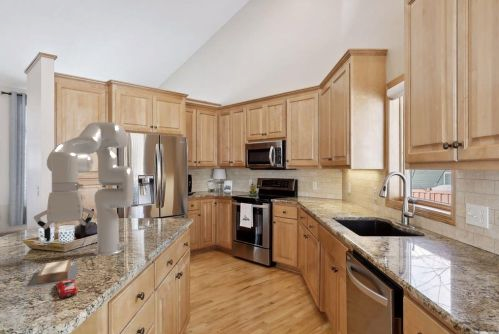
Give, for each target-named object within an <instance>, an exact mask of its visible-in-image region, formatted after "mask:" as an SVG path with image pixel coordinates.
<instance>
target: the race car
mask: <svg viewBox="0 0 499 334" xmlns="http://www.w3.org/2000/svg"><path fill="white" fill-rule="evenodd" d="M75 281H76V279H75V280H72V279H69V280H63V281H60V282H58V283H56V284H55V287H56V289H57V293H58V295H59V296H58V297H59V299H64V298H65V299H66V298H68V297H72V296H75V295H78V287H77V285H76V283H75Z"/></svg>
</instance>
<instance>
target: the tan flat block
mask: <svg viewBox="0 0 499 334" xmlns="http://www.w3.org/2000/svg"><path fill="white" fill-rule="evenodd" d="M71 266H72V260H71V259H69V260H68V259H67V260H62V261H53V262H47V263H44V264H43V265H42V267H41V268H40V270H41V271H40V270H39V271H40V273H39V274H38V276H37V278H38V285H39V284H44V283H50V282H56V281H62V280H68V277H69V273H70V269H71Z"/></svg>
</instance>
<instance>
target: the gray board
mask: <svg viewBox="0 0 499 334" xmlns="http://www.w3.org/2000/svg"><path fill="white" fill-rule="evenodd" d="M78 268H79V264H73V265H71V269H70V273H69V277H68V280H69V279H72V280H75V281H76V279H77V272H78ZM40 271H41V269H40V270H37V272H36V273H35V274H34V277H33V278H32V280H31V281H30V283H29V285H28V287H27V289H33V288H37V287H44V286H50V285H56V284H57V283H58V282H60V281H56V282H50V283H44V284H39V285H38V278H37V276H38V274H39V273H40ZM62 281H63V280H62Z"/></svg>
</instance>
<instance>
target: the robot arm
mask: <svg viewBox="0 0 499 334" xmlns="http://www.w3.org/2000/svg"><path fill="white" fill-rule="evenodd" d="M128 145H129V134H128V133H127V131H126V130H125V129H124V128H123V127H122V126H121V125H120V124H119V123H116V122H111V121H110V122H108V121H107V122H103V121H102V122H101V121H98V122H97V121H95V122H91V123H88V124H87V125H86V126H85V127H84V129H83V130H82V132H81V133H80V134H79V135H78V136H76V137H74V138H71V139H69V140H66V141H64V142H61V143H59V144H58V145H56V146H55V147H54V148H53V149H52V150H51V152H50V153H49V154H48V156H47V159H46V167H47V169H48V170H49V172H51V191H50V192H49V194H48V198H47V206H46V210H44V211H42V212H39V213H38V214H36V215H34V216H33V219H34V221H35V222H36V223H37V225H38V226H39V227H41V228H42V229H43V230H44V231H43V232H44V233H43V234H44V235H43V236H44V239H46V242H49V241H51V235H52V234H51V227H50V226H51V225H52V224H53V223H54V224H56V223H66V222H76V221H78V223H80V238H84V235H86V232H87V231H86V229H87V228H86V226H87V224H88V223H89V222H90V221H91V220H92V218H93V216H94V215H95V211H94V210H91V209H89V208H85V207H84V205H83V195H82V191H81V190H79V189H83V188H84V187H83V186H84V184H83V183H80V182H79V175H78V174H84V173H87V172H89V171H90V170H92V168H93V166H94V159H93V157H92V156H91V154H94V153H95V154H96V156H97V160H98V162H97V165H98V166H97V168H98V170H97V171H98V172H97V175H98V176H97V179H98V183H99V185H101V186H104V187H105V186H110V188H109V187H108V188H100V189H98V190H97V191H96V192H95V193H94V204H95V208H96V209H95V210H96V230H97V231H96V232H97V233H96V234H97V235H96V236H97V237H96V238H97V240H96V241H97V243H96V244H97V249H96V250H95V251H93V255H96V256H109V255H111V256H114V255H115V256H116V255H118V254H121V253H122V252H123V248H129V247H130V242H127V243H126V242H122V243H121V242H120V235H119V234H120V232H119V231H120V229H119V227H120V226H119V225H120V223H119V222H120V221H119V219H120V217H119V214H118V212H117V211H116V210H115V208H117V209H118V208H129V207H132V205H133V203H134V196H135V195H134V189H135V188H134V171H133V169H132V168H131V167H130V166H126V165H124V166H122V165H120V166H119V165H118V155H117V154H116V152H115V151H114V150H113V149H122V148H123V149H124V148H126V147H127V146H128ZM113 186H121V187H122V188H121V187H119V188H118V187H116V188H115V187H113ZM112 187H113V188H112ZM84 213H86V214H88V216H87V218H86V219H85V218H83V216H84ZM44 216H46V219H47V220H46V222H45V221H43V220H42V217H44Z"/></svg>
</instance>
